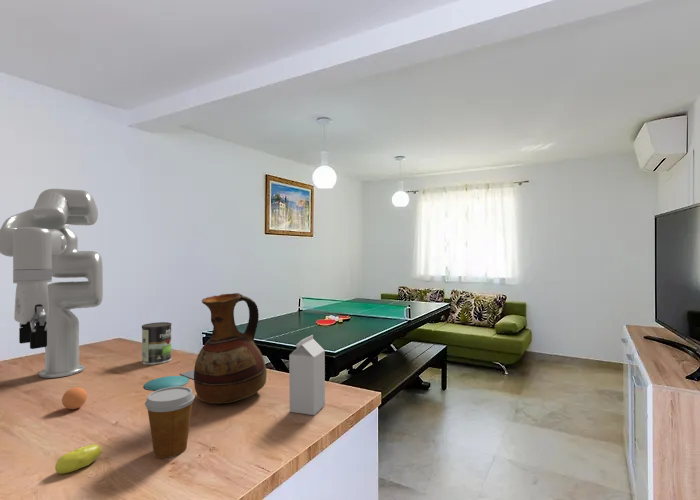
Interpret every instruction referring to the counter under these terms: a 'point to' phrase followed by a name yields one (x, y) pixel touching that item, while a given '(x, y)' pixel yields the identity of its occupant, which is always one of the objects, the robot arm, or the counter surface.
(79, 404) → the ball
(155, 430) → the disposable coffee cup
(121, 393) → the counter surface
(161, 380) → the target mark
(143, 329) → the coffee can
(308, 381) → the milk carton
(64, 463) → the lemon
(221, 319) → the ceramic pitcher
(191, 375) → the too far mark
